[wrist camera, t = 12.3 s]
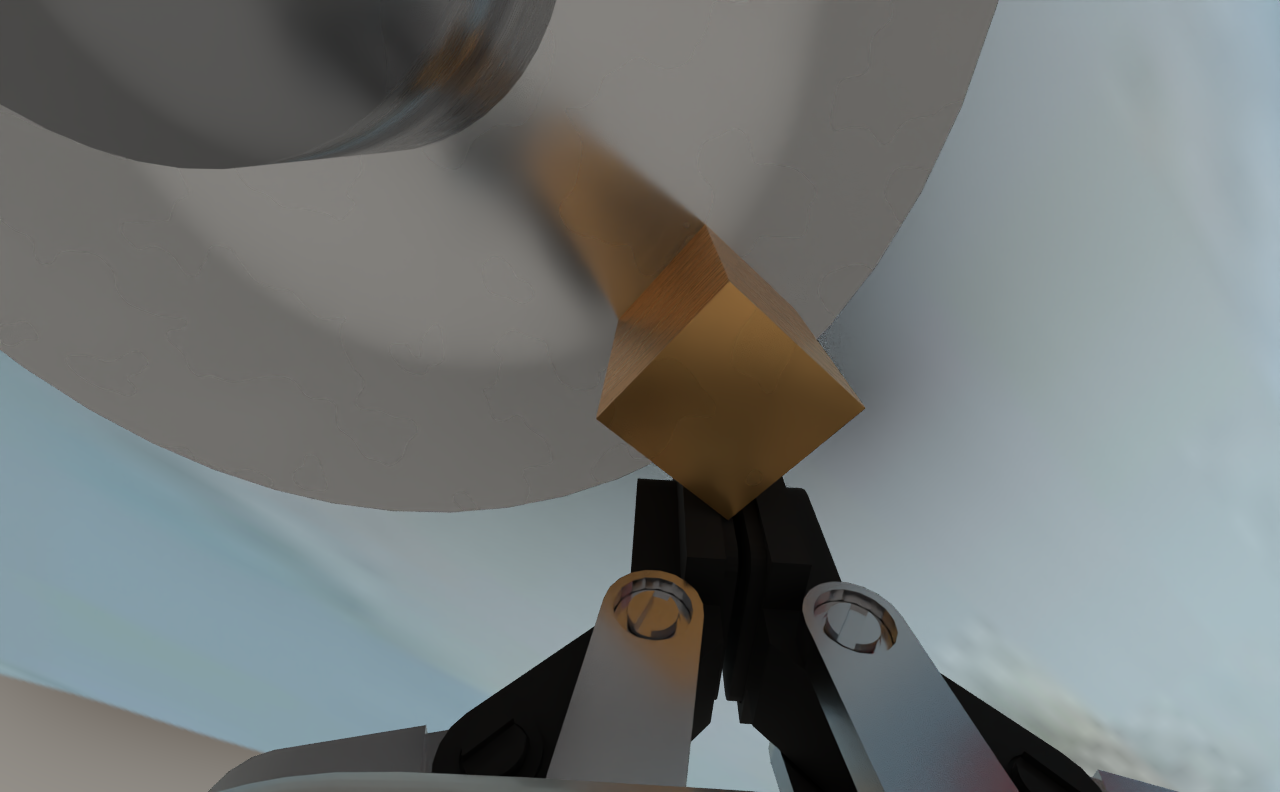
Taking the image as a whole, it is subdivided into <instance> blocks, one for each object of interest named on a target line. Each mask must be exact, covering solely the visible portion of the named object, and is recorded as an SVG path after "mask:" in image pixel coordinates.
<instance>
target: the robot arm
mask: <svg viewBox="0 0 1280 792" xmlns="http://www.w3.org/2000/svg"><path fill="white" fill-rule="evenodd" d="M722 670H723V679H724V688H725V696H726V699H727V700H728V701H737V705H738V712H739V720H740V723H743V724H752V726H754V727H755V728H756V729H757V730H758V731H759V732H760V733H761V734H762V735H763V736H765V737H766V738H767V739H768V740H769V741H770V742H769V755H770V761H771V765H772V768H773V771H774V774H775V777H776V781H777V784H778V787H779V790H780V792H1177V791H1173V790H1170V789H1166V788H1163V787H1159V786H1155V785H1152V784H1148V783H1144V782H1141V781H1137V780H1134V779H1130V778H1126V777H1123V776H1119V775H1116V774H1112V773H1108V772H1105V771H1101V770H1097V771H1096V773H1095V774H1094V776H1093V777H1089V776H1088V775H1087V774H1086V772H1085V771H1084V770H1083V769H1082V768H1081V767H1079V766H1078V765H1077V764H1075V763H1074V762H1073V761H1071V760H1070V759H1069V758H1068V757H1066V756H1065V755H1064V754H1062V753H1061V752H1060V751H1058V750H1057V749H1055V748H1054V747H1052V746H1051V745H1049V744H1048V743H1046V742H1044V741H1043V740H1041V739H1040V738H1038V737H1037V736H1035V735H1034V734H1032V733H1031V732H1029V731H1028V730H1026V729H1025V728H1023V727H1022V726H1020V725H1019V724H1017V723H1016V722H1014V721H1013V720H1011V719H1009V718H1008V717H1006V716H1005V715H1003V714H1002V713H1000V712H999V711H997V710H996V709H994V708H993V707H991V706H990V705H988V704H987V703H985V702H984V701H982V700H981V699H979V698H977V697H976V696H974V695H973V694H971V693H970V692H968V691H967V690H965V689H964V688H962V687H961V686H959V685H958V684H956V683H955V682H953V681H952V680H950V679H949V678H947V677H946V676H944V675H942V674H941V673H940V672H939V671H938V669H937V668H936V666H935V665H934V663H933V662H932V660H931V659H930V657H929V656H928V654H927V653H926V651H925V650H924V648H923V647H922V645H921V644H920V642H919V641H918V639H917V638H916V636H915V635H914V633H913V632H912V630H911V629H910V627H909V626H908V624H907V623H906V621H905V620H904V618H903V617H902V616H901V614H900V613H899V612H898V611H897V610H896V609H895V607H894V606H893V605H892V604H891V603H889V602H888V601H887V600H885V599H884V598H883V597H881V596H880V595H879V594H877V593H875V592H873V591H871V590H869V589H867V588H865V587H862V586H858V585H855V584H851V583H848V582H841V579H840V577H839V574H838V571H837V569H836V566H835V564H834V561H833V559H832V556H831V553H830V551H829V548H828V546H827V543H826V541H825V538H824V536H823V533H822V530H821V528H820V525H819V523H818V520H817V518H816V515H815V512H814V510H813V507H812V505H811V502H810V500H809V497H808V495H807V493H806V491H805V490H804V489H802V488H787V487H786V486H785V483H784V480H783V477H781V478H779V479H778V480H777V481H776V482H774V483H773V484H772V485H771V486H769V487H768V488H767V489H766V490H765V491H763V492H762V493H761V494H760V495H758V496H757V497H756V498H755V499H754V500H752V501H751V502H750V503H749V504H747V505H746V506H745V507H744V508H742V509H741V510H740V511H739V512H738V513H736V514H735V515H734V516H733V517H731V518H730V519H729V520H727V519H726V518H724V517H723V516H722V515H721V514H719V513H718V512H717V511H715V510H714V509H713V508H711V507H710V506H709V505H708V504H706V503H705V502H704V501H702V500H701V499H700V498H698V497H697V496H696V495H694V494H693V493H692V492H691V491H689V490H688V489H687V488H685V487H684V486H683V485H681V484H680V483H679V482H678V481H676V480H675V479H674V478H673V481H670V480H653V479H638V481H637V494H636V508H635V522H634V536H633V550H632V564H631V573H630V574H628V575H626V576H624V577H621V578H619V579H618V580H617V581H616V582H615V583H614V584H613V585H611V586H610V588H609V589H608V591H607V593H606V595H605V597H604V599H603V602H602V605H601V608H600V611H599V614H598V618H597V621H596V624H595V626H594V627H593V628H591V629H590V630H588V631H587V632H585V633H584V634H582V635H581V636H580V637H578V638H577V639H575V640H574V641H572V642H571V643H569V644H568V645H566V646H565V647H563V648H562V649H560V650H559V651H557V652H556V653H554V654H553V655H552V656H550V657H549V658H547V659H546V660H544V661H543V662H541V663H540V664H538V665H537V666H535V667H534V668H532V669H531V670H529V671H528V672H527V673H525V674H524V675H522V676H521V677H519V678H518V679H516V680H515V681H513V682H512V683H510V684H509V685H507V686H506V687H504V688H503V689H502V690H500V691H499V692H497V693H496V694H494V695H493V696H491V697H490V698H488V699H487V700H485V701H484V702H482V703H481V704H479V705H478V706H477V707H475V708H474V709H472V710H471V711H469V712H468V713H466V714H465V715H464V716H463V717H462V718H461V719H459V720H458V721H457V722H456V723H455V724H454V725H453V726H451V728H450V729H449V730H445V731H439V732H433V733H427V728H426V725H424V726H418V727H412V728H406V729H400V730H394V731H388V732H381V733H375V734H369V735H363V736H357V737H351V738H345V739H339V740H332V741H326V742H320V743H314V744H308V745H302V746H296V747H290V748H283V749H277V750H273V751H270V752H267V753H263V754H260V755H257V756H254V757H251V758H250V759H248V760H247V761H245V762H243V763H242V764H240V765H239V766H237V767H235V768H234V769H232V770H230V771H229V772H228V773H227V774H226V775H225V776H224V777H223V778H222V779H220V780H219V782H217V783H216V784H215V785H214V786H213V787H212V789H210V790H209V791H208V792H753V791H738V790H723V789H708V788H691V787H686V782H687V773H688V763H689V754H690V744H691V741H692V740H693V739H694V738H695V737H696V736H697V735H698V734H699V733H700V732H701V731H702V730H704V729H705V728H706V727H707V726H708V725H709V724H710V722H711V716H712V710H713V704H714V700H716V699H717V697H718V691H719V685H720V679H721V673H722Z"/></svg>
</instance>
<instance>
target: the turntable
mask: <svg viewBox="0 0 1280 792" xmlns="http://www.w3.org/2000/svg"><path fill="white" fill-rule="evenodd" d="M997 4H998V0H556V3H555V7H554V10H553V13H552V17H551V20H550V22H549V24H548V27H547V29H546V31H545V34H544V36H543V38H542V40H541V43H540V45H539V47H538V49H537V51H536V53H535V54H534V56H533V58H532V59H531V61H530V63H529V64H528V66H527V68H526V69H525V71H524V73H523V74H522V76H521V77H520V78H519V80H518V81H517V82H516V83H515V85H514V86H513V87H512V88H511V90H510V91H509V92H508V93H507V95H506V96H505V97H504V98H503V99H502V100H501V101H500V102H499V103H498V104H497V105H495V106H494V107H493V108H492V109H491V110H490V111H489V112H488V113H487V114H486V115H485V116H483V117H482V118H481V119H479V120H478V121H476V122H475V123H473V124H472V125H470V126H469V127H467V128H466V129H464V130H463V131H461V132H459V133H457V134H455V135H452V136H450V137H448V138H446V139H444V140H442V141H440V142H437V143H433V144H430V145H426V146H423V147H419V148H416V149H410V150H402V151H395V152H386V153H377V154H367V155H357V156H348V157H338V158H328V159H318V160H309V161H299V162H289V163H280V164H270V165H260V166H250V167H241V168H231V169H187V168H176V167H170V166H164V165H157V164H151V163H145V162H138V161H135V160H132V159H128V158H125V157H121V156H118V155H114V154H111V153H107V152H104V151H100V150H97V149H93V148H91V147H89V146H86V145H84V144H81V143H79V142H76V141H74V140H72V139H69V138H67V137H64V136H62V135H59V134H57V133H55V132H52V131H50V130H47V129H46V128H44V127H42V126H40V125H38V124H36V123H34V122H32V121H31V120H29V119H27V118H25V117H23V116H21V115H19V114H17V113H16V112H14V111H12V110H10V109H8V108H6V107H4V106H2V105H1V104H0V350H1V351H3V352H4V353H5V354H7V355H8V356H9V357H11V358H12V359H13V360H15V361H16V362H17V363H19V364H20V365H21V366H22V367H24V368H25V369H27V370H29V371H30V372H32V373H33V374H35V375H36V376H38V377H39V378H41V379H43V380H44V381H46V382H47V383H49V384H50V385H52V386H53V387H55V388H57V389H58V390H60V391H61V392H63V393H64V394H66V395H67V396H69V397H71V398H72V399H74V400H75V401H77V402H78V403H80V404H82V405H83V406H85V407H86V408H88V409H89V410H91V411H93V412H95V413H97V414H99V415H101V416H103V417H104V418H106V419H108V420H110V421H112V422H114V423H116V424H118V425H119V426H121V427H123V428H125V429H127V430H129V431H131V432H133V433H134V434H136V435H138V436H140V437H142V438H144V439H146V440H148V441H149V442H151V443H153V444H156V445H158V446H160V447H163V448H165V449H167V450H170V451H172V452H174V453H177V454H179V455H181V456H184V457H186V458H188V459H191V460H193V461H195V462H197V463H200V464H202V465H204V466H207V467H209V468H211V469H214V470H217V471H220V472H223V473H226V474H229V475H232V476H235V477H238V478H241V479H244V480H247V481H250V482H253V483H256V484H259V485H262V486H265V487H268V488H271V489H274V490H278V491H283V492H287V493H291V494H296V495H300V496H304V497H309V498H313V499H317V500H322V501H326V502H330V503H335V504H343V505H351V506H358V507H366V508H374V509H382V510H390V511H415V512H461V511H473V510H485V509H497V508H508V507H513V506H518V505H523V504H528V503H533V502H538V501H543V500H548V499H553V498H558V497H563V496H566V495H569V494H573V493H576V492H579V491H582V490H585V489H588V488H591V487H594V486H597V485H600V484H603V483H606V482H609V481H613V480H616V479H619V478H621V477H623V476H625V475H627V474H630V473H632V472H634V471H636V470H638V469H640V468H642V467H645V466H647V465H649V464H651V463H654V464H655V465H657V466H658V467H659V468H661V469H662V470H663V471H665V472H666V473H667V474H668V475H670V476H671V477H672V478H674V479H675V480H676V481H678V482H679V483H680V484H681V485H683V486H684V487H685V488H687V489H688V490H689V491H691V492H692V493H693V494H694V495H696V496H697V497H698V498H700V499H701V500H702V501H704V502H705V503H706V504H708V505H709V506H710V507H711V508H713V509H714V510H715V511H717V512H718V513H719V514H721V515H722V516H723V517H724V518H726V519H727V520H729V519H730V518H731V517H733V516H734V515H735V514H736V513H738V512H739V511H740V510H741V509H742V508H744V507H745V506H746V505H747V504H749V503H750V502H751V501H752V500H754V499H755V498H756V497H757V496H758V495H760V494H761V493H762V492H763V491H765V490H766V489H767V488H768V487H769V486H771V485H772V484H773V483H774V482H776V481H777V480H778V479H779V478H781V477H782V476H783V475H784V474H785V473H787V472H788V471H789V470H790V469H792V468H793V467H794V466H795V465H796V464H798V463H799V462H800V461H801V460H803V459H804V458H805V457H806V456H808V455H809V454H810V453H811V452H812V451H814V450H815V449H816V448H817V447H819V446H820V445H821V444H822V443H823V442H825V441H826V440H827V439H828V438H830V437H831V436H832V435H833V434H835V433H836V432H837V431H838V430H839V429H841V428H842V427H843V426H844V425H846V424H847V423H848V422H849V421H850V420H852V419H853V418H854V417H855V416H857V415H858V414H859V413H860V412H862V411H863V410H864V409H865V407H864V405H863V404H862V402H861V401H860V400H859V398H858V397H857V395H856V394H855V393H854V391H853V390H852V388H851V387H850V386H849V384H848V383H847V381H846V380H845V379H844V377H843V376H842V374H841V373H840V372H839V370H838V369H837V367H836V366H835V365H834V363H833V362H832V360H831V359H830V358H829V356H828V355H827V353H826V352H825V351H824V349H823V348H822V346H821V345H820V343H819V342H818V341H817V339H818V338H819V337H820V336H821V335H822V334H823V333H824V332H825V331H826V330H827V329H828V327H829V326H830V325H831V324H832V322H833V321H834V320H835V318H836V317H837V316H838V315H839V313H840V312H841V311H842V310H843V308H844V307H845V306H846V304H847V303H848V302H849V301H850V299H851V298H852V297H853V295H854V294H855V293H856V292H857V290H858V289H859V288H860V286H861V285H862V284H863V283H864V281H865V280H866V279H867V277H868V276H869V275H870V274H871V272H872V271H873V270H874V268H875V267H876V266H877V264H878V262H879V261H880V259H881V257H882V256H883V254H884V253H885V251H886V249H887V248H888V246H889V244H890V243H891V241H892V239H893V238H894V236H895V235H896V233H897V231H898V230H899V228H900V226H901V225H902V223H903V221H904V220H905V218H906V217H907V215H908V213H909V212H910V210H911V208H912V207H913V205H914V203H915V202H916V200H917V199H918V197H919V195H920V194H921V192H922V190H923V187H924V185H925V183H926V181H927V179H928V177H929V175H930V173H931V170H932V168H933V166H934V164H935V162H936V160H937V158H938V156H939V153H940V151H941V149H942V147H943V145H944V143H945V141H946V139H947V136H948V134H949V132H950V130H951V128H952V126H953V124H954V122H955V119H956V117H957V115H958V113H959V111H960V109H961V107H962V104H963V101H964V98H965V96H966V93H967V90H968V87H969V84H970V81H971V78H972V75H973V73H974V70H975V67H976V64H977V61H978V58H979V55H980V52H981V50H982V47H983V44H984V41H985V38H986V35H987V32H988V29H989V27H990V24H991V21H992V18H993V15H994V12H995V9H996V6H997Z"/></svg>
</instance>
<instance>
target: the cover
mask: <svg viewBox="0 0 1280 792" xmlns="http://www.w3.org/2000/svg"><path fill="white" fill-rule="evenodd" d="M555 3H556V0H0V104H1V105H2V106H4V107H6V108H8V109H10V110H12V111H14V112H16V113H17V114H19V115H21V116H23V117H25V118H27V119H29V120H31V121H32V122H34V123H36V124H38V125H40V126H42V127H44V128H46V129H47V130H50V131H52V132H55V133H57V134H59V135H62V136H64V137H67V138H69V139H72V140H74V141H76V142H79V143H81V144H84V145H86V146H89V147H91V148H93V149H97V150H100V151H104V152H107V153H111V154H114V155H118V156H121V157H125V158H128V159H132V160H135V161H138V162H145V163H151V164H157V165H164V166H170V167H176V168H187V169H231V168H241V167H250V166H260V165H270V164H280V163H289V162H299V161H309V160H318V159H328V158H338V157H348V156H357V155H367V154H377V153H386V152H395V151H402V150H410V149H416V148H419V147H423V146H426V145H430V144H433V143H437V142H440V141H442V140H444V139H446V138H448V137H450V136H452V135H455V134H457V133H459V132H461V131H463V130H464V129H466V128H467V127H469V126H470V125H472V124H473V123H475V122H476V121H478V120H479V119H481V118H482V117H483V116H485V115H486V114H487V113H488V112H489V111H490V110H491V109H492V108H493V107H494V106H495V105H497V104H498V103H499V102H500V101H501V100H502V99H503V98H504V97H505V96H506V95H507V93H508V92H509V91H510V90H511V88H512V87H513V86H514V85H515V83H516V82H517V81H518V80H519V78H520V77H521V76H522V74H523V73H524V71H525V69H526V68H527V66H528V64H529V63H530V61H531V59H532V58H533V56H534V54H535V53H536V51H537V49H538V47H539V45H540V43H541V40H542V38H543V36H544V34H545V31H546V29H547V27H548V24H549V22H550V20H551V17H552V13H553V10H554V7H555Z"/></svg>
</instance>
